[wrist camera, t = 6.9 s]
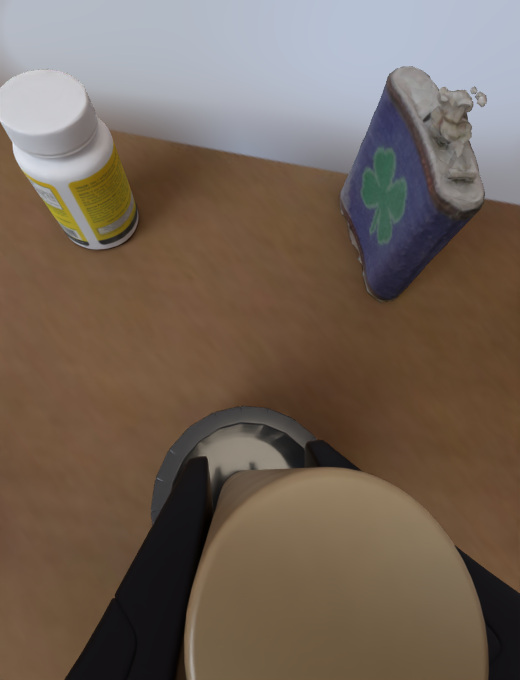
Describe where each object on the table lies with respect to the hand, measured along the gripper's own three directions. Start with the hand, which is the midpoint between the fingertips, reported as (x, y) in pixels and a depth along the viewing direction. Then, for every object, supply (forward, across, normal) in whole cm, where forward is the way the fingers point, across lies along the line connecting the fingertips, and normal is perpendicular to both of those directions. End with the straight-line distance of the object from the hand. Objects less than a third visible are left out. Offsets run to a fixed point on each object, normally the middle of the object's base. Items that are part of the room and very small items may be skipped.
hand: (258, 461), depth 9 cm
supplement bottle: (+20, +7, -3) cm, 21 cm away
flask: (+18, -11, -1) cm, 21 cm away
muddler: (+5, 0, +7) cm, 8 cm away
